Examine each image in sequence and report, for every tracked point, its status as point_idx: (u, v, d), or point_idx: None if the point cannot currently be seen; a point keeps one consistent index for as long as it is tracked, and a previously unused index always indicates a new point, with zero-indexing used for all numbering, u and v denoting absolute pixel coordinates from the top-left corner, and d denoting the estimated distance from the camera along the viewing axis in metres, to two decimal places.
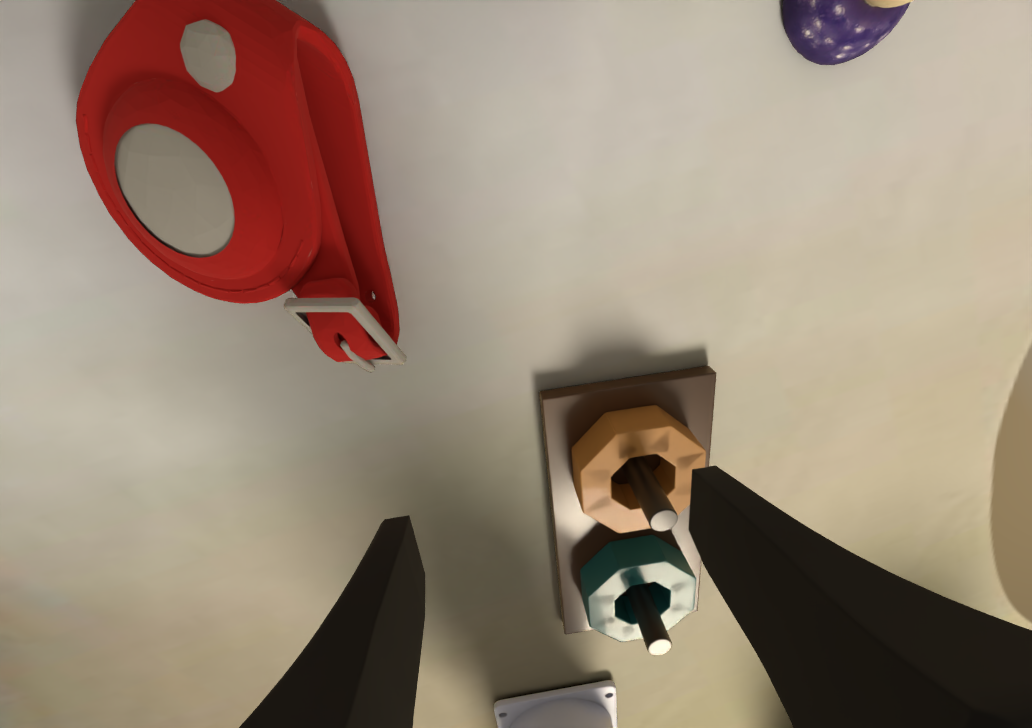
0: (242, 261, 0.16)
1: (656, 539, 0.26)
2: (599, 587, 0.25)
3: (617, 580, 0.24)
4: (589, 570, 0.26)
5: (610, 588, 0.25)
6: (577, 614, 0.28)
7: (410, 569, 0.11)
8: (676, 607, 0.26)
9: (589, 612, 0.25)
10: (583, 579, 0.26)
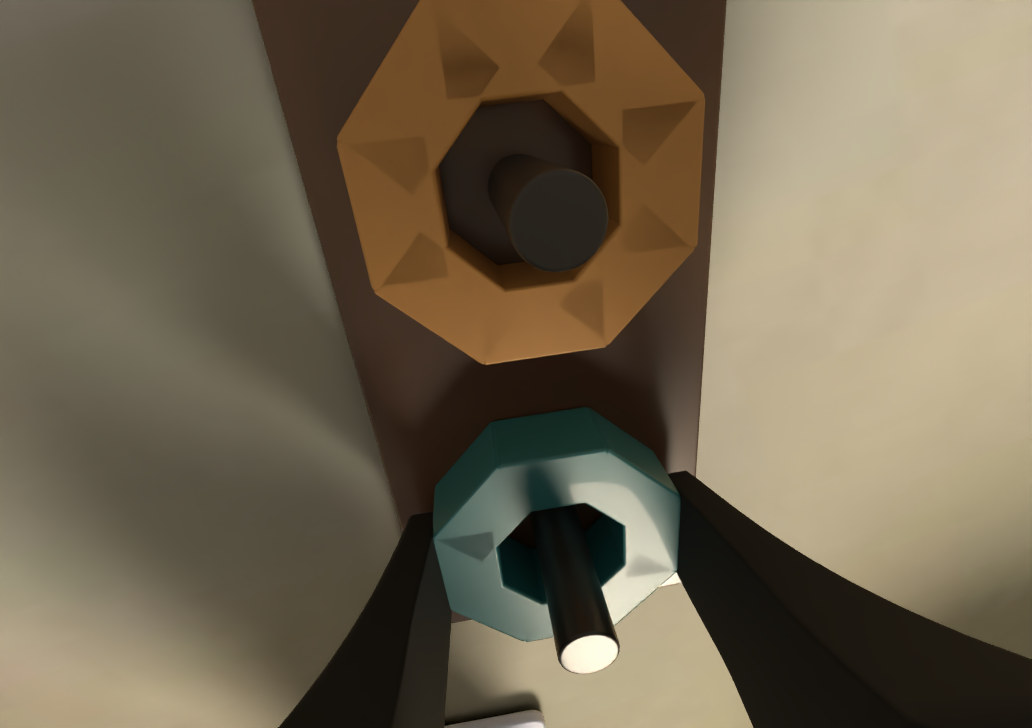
0: None
1: (593, 413, 0.12)
2: (455, 514, 0.11)
3: (495, 497, 0.10)
4: (447, 484, 0.12)
5: (480, 516, 0.11)
6: None
7: None
8: (639, 566, 0.12)
9: (442, 575, 0.11)
10: (435, 505, 0.12)
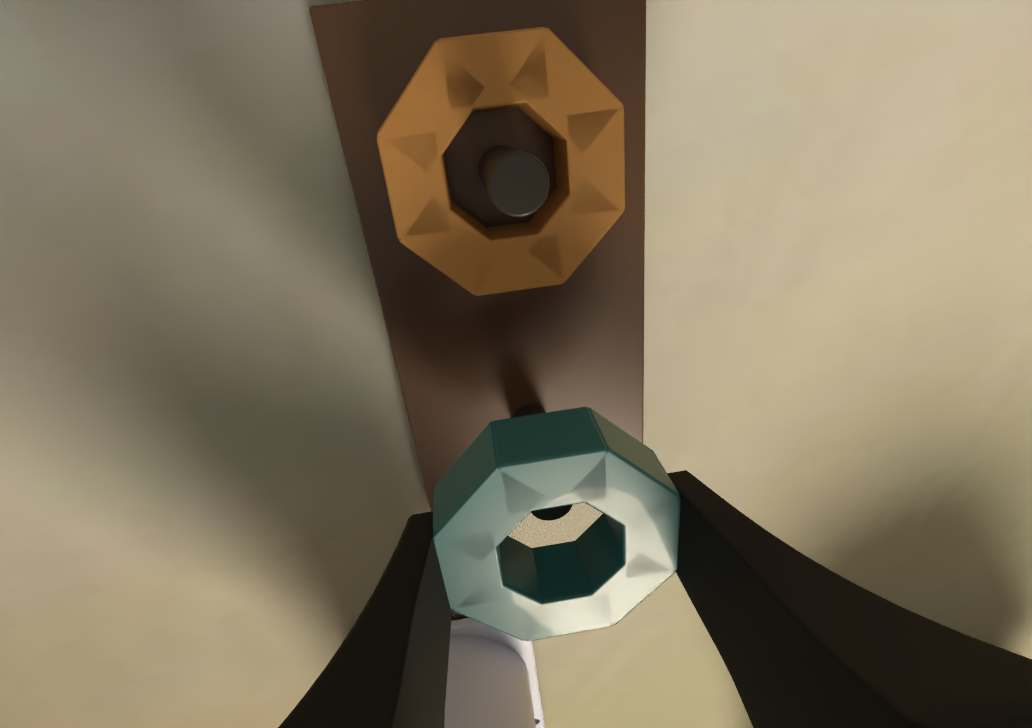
0: None
1: (593, 413, 0.12)
2: (455, 514, 0.11)
3: (495, 496, 0.10)
4: (447, 484, 0.12)
5: (480, 516, 0.11)
6: None
7: (439, 564, 0.11)
8: (639, 565, 0.12)
9: (442, 575, 0.11)
10: (435, 504, 0.12)
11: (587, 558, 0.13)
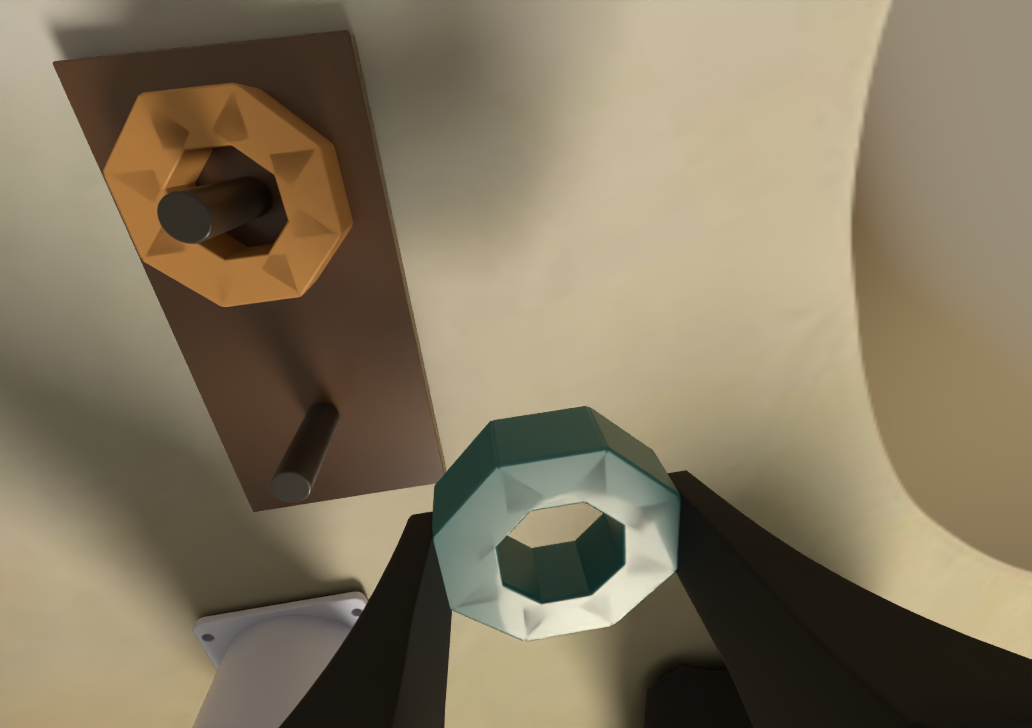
0: None
1: (593, 412, 0.12)
2: (454, 513, 0.11)
3: (495, 496, 0.10)
4: (447, 483, 0.12)
5: (480, 515, 0.11)
6: (260, 478, 0.20)
7: None
8: (639, 565, 0.12)
9: None
10: (435, 504, 0.12)
11: (587, 558, 0.13)
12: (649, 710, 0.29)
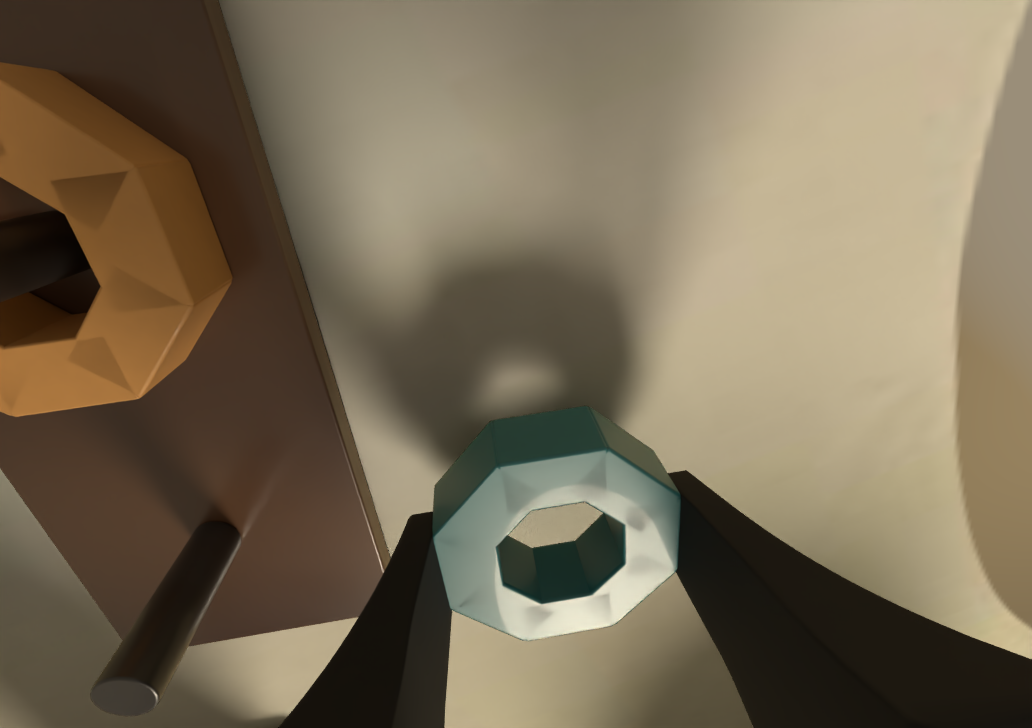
0: None
1: (593, 412, 0.12)
2: (454, 513, 0.11)
3: (495, 496, 0.10)
4: (447, 483, 0.12)
5: (480, 515, 0.11)
6: (138, 616, 0.14)
7: None
8: (639, 565, 0.12)
9: (442, 574, 0.11)
10: (435, 504, 0.12)
11: (587, 558, 0.13)
12: None
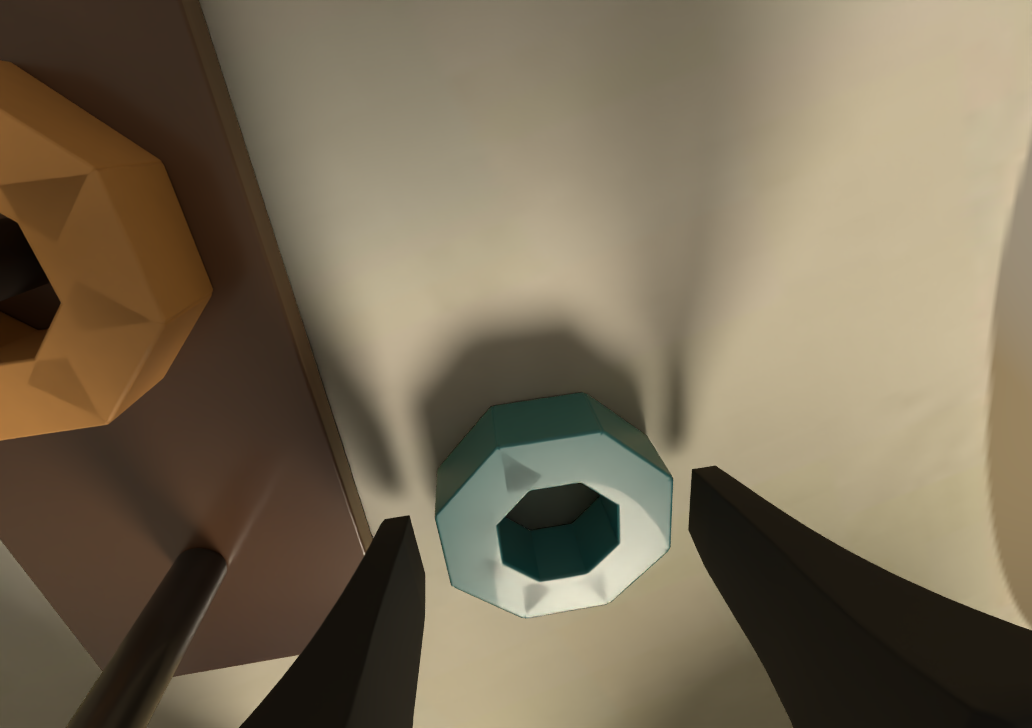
0: None
1: (589, 398, 0.12)
2: (457, 493, 0.11)
3: (495, 476, 0.11)
4: (449, 466, 0.12)
5: (481, 494, 0.11)
6: (118, 647, 0.13)
7: (410, 569, 0.11)
8: (633, 544, 0.12)
9: (444, 552, 0.12)
10: (437, 486, 0.12)
11: (583, 539, 0.13)
12: None
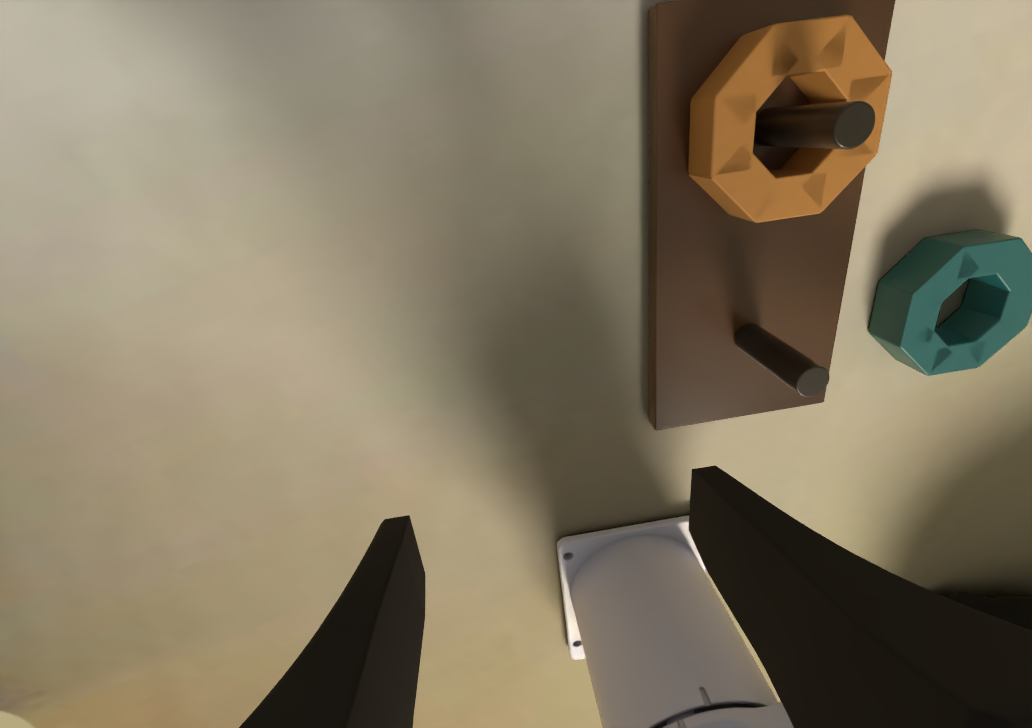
0: None
1: (985, 231, 0.20)
2: (931, 278, 0.19)
3: (955, 267, 0.19)
4: (899, 274, 0.20)
5: (943, 279, 0.19)
6: (674, 397, 0.22)
7: (410, 569, 0.11)
8: (1008, 321, 0.21)
9: (906, 321, 0.20)
10: (891, 287, 0.20)
11: (960, 328, 0.22)
12: None
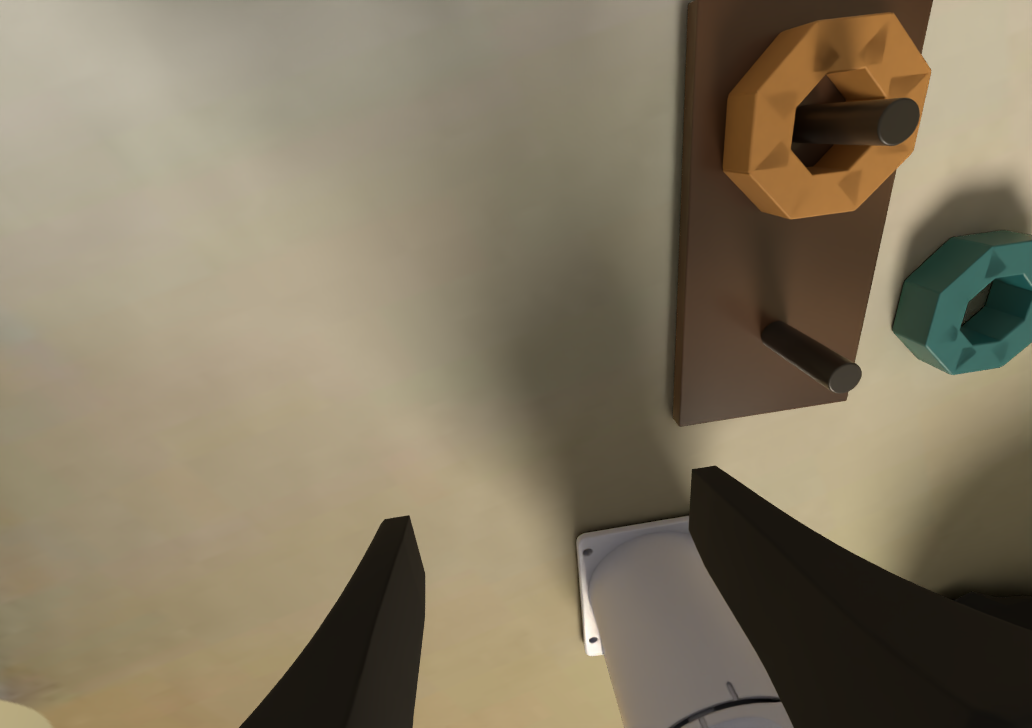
0: None
1: None
2: (958, 277, 0.19)
3: (983, 266, 0.19)
4: (926, 273, 0.21)
5: (970, 279, 0.19)
6: (699, 394, 0.22)
7: (410, 569, 0.11)
8: None
9: (933, 320, 0.20)
10: (917, 286, 0.21)
11: (983, 328, 0.22)
12: None
